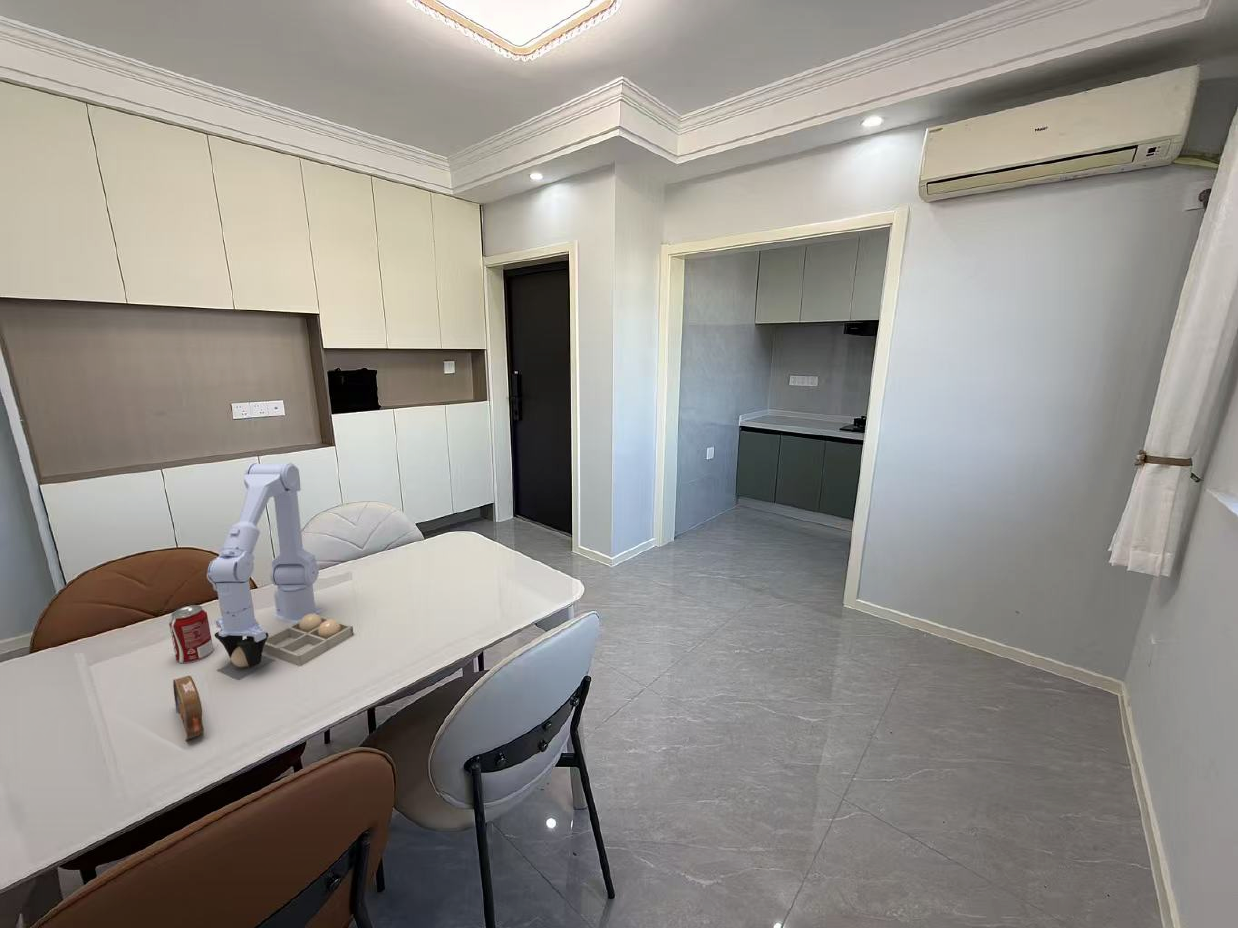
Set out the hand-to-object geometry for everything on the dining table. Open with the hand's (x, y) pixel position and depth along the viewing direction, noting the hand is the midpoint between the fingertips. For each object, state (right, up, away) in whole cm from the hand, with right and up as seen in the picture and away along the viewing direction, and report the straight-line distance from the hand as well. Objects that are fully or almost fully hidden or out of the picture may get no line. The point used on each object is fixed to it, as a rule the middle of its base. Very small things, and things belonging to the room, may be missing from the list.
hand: (245, 660), depth 114 cm
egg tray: (+8, 0, +10) cm, 13 cm away
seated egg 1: (+7, +2, +14) cm, 15 cm away
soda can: (-15, -1, +4) cm, 15 cm away
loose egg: (0, -1, 0) cm, 1 cm away
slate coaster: (0, -2, 0) cm, 2 cm away
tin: (+2, -6, -17) cm, 18 cm away
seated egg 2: (+13, +1, +11) cm, 17 cm away
